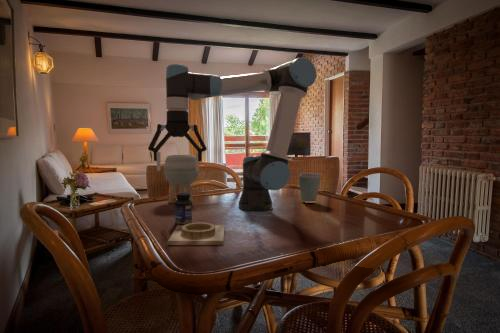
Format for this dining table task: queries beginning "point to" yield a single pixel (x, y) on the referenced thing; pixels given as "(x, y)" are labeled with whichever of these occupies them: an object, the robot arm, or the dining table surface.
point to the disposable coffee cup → (309, 186)
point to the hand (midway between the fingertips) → (178, 170)
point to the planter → (180, 173)
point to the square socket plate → (197, 234)
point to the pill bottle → (183, 209)
